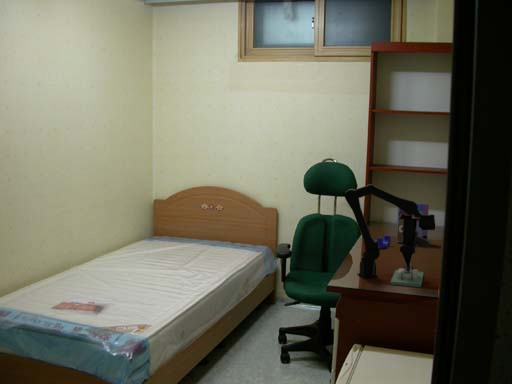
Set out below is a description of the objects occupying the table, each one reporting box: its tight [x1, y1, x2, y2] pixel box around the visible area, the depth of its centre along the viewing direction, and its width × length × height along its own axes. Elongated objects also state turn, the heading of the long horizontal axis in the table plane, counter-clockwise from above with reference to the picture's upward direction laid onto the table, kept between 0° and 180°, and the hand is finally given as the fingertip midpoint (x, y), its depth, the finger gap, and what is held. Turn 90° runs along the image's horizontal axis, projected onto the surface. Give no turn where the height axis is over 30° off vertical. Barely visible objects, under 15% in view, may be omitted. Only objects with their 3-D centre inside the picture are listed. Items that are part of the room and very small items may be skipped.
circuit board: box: [390, 269, 424, 288], centre depth 229 cm, size 24×12×1 cm, turn 160°
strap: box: [403, 262, 412, 274], centre depth 229 cm, size 12×3×1 cm, turn 160°
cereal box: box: [396, 203, 429, 243], centre depth 323 cm, size 17×5×24 cm, turn 77°
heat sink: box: [397, 264, 419, 280], centre depth 229 cm, size 13×8×4 cm, turn 160°
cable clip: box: [376, 235, 392, 249], centre depth 308 cm, size 12×4×6 cm, turn 141°
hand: (408, 265), depth 231 cm, fingers closed
